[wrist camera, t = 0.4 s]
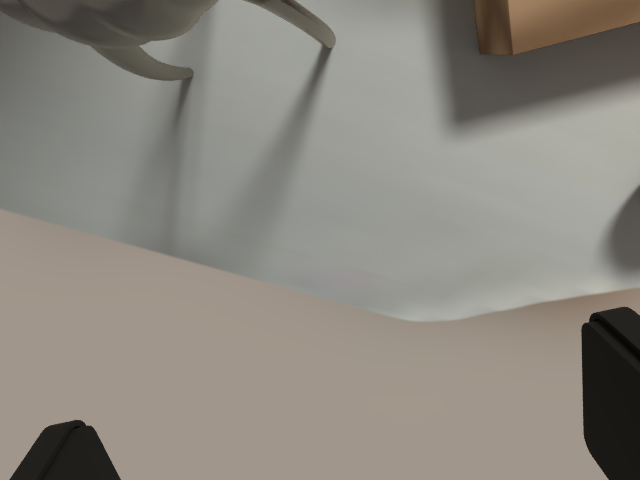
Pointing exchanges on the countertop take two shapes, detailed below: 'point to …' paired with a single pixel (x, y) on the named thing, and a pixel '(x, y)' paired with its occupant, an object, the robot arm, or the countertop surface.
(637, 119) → the countertop surface
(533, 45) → the board
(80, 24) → the juicer
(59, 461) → the robot arm
